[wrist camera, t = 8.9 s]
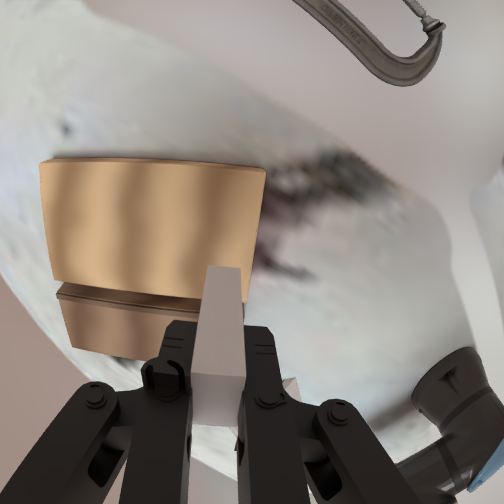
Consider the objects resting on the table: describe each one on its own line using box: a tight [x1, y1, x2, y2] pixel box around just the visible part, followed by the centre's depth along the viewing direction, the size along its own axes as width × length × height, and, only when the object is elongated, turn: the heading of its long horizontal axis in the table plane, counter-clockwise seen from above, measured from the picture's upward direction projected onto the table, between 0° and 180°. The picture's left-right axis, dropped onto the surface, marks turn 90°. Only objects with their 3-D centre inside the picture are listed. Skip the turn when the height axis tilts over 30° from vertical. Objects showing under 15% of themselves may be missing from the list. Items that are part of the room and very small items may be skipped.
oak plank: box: [39, 158, 266, 303], centre depth 24 cm, size 20×12×2 cm, turn 83°
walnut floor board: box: [56, 282, 244, 361], centre depth 29 cm, size 20×8×2 cm, turn 83°
